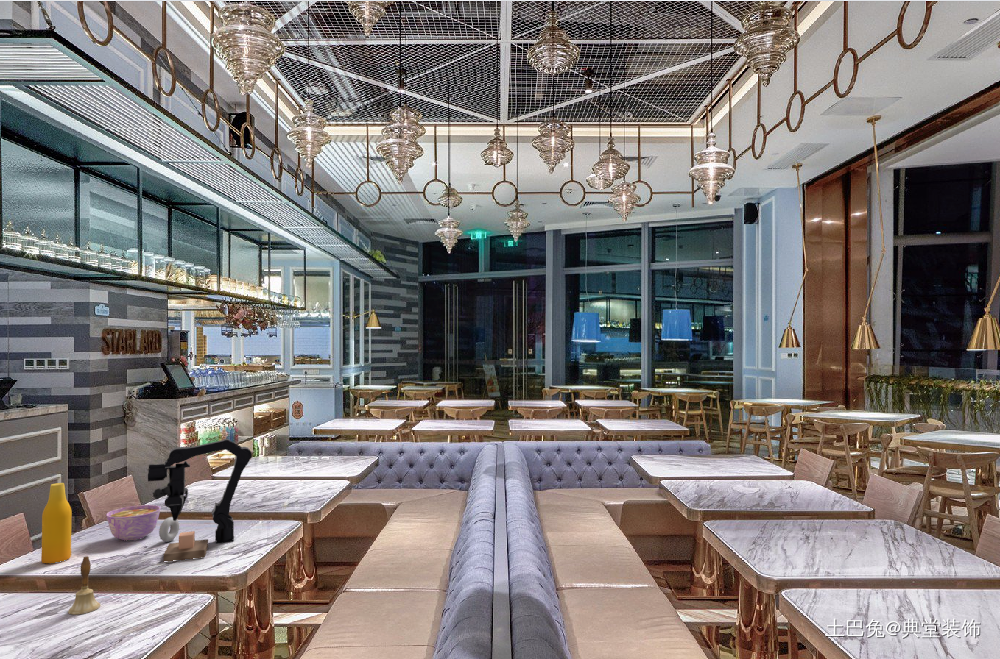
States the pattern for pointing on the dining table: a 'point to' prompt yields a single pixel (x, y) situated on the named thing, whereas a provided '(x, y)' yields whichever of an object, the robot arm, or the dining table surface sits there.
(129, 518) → the bowl of food
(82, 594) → the hand bell
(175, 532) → the donut
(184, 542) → the terracotta block
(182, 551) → the walnut base
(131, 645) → the dining table surface
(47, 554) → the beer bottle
